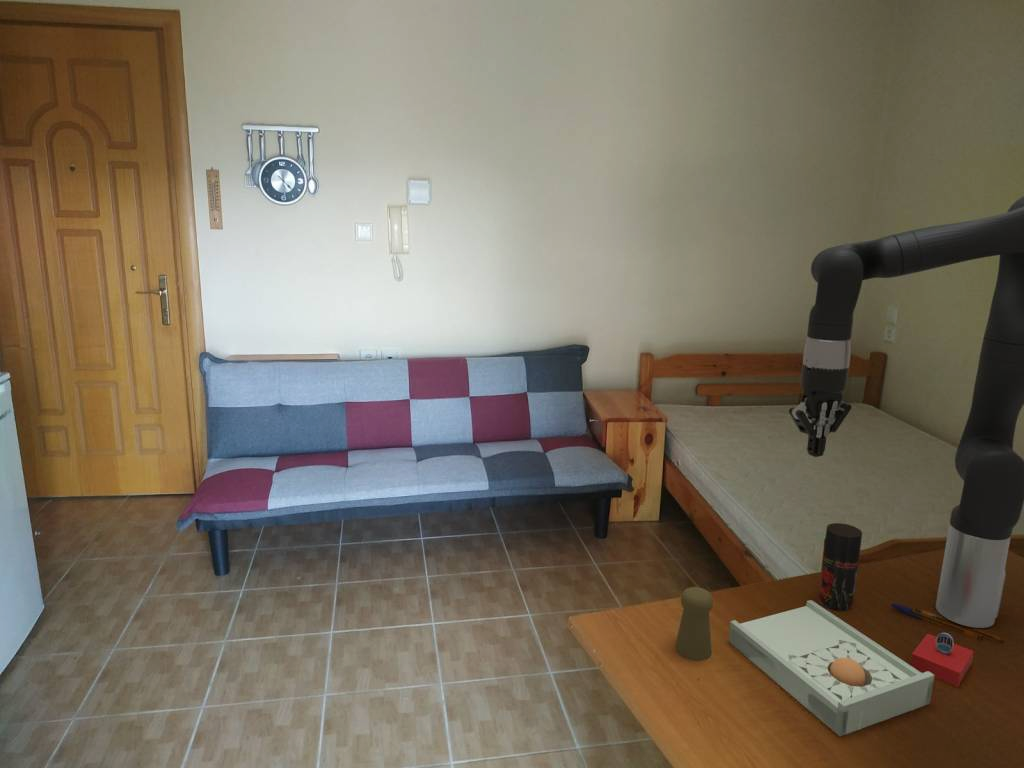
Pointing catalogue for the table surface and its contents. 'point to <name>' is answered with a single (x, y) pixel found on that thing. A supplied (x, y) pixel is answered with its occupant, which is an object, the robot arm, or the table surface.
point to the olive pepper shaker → (695, 625)
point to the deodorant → (839, 566)
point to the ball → (848, 672)
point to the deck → (809, 655)
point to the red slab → (942, 658)
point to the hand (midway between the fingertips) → (815, 455)
